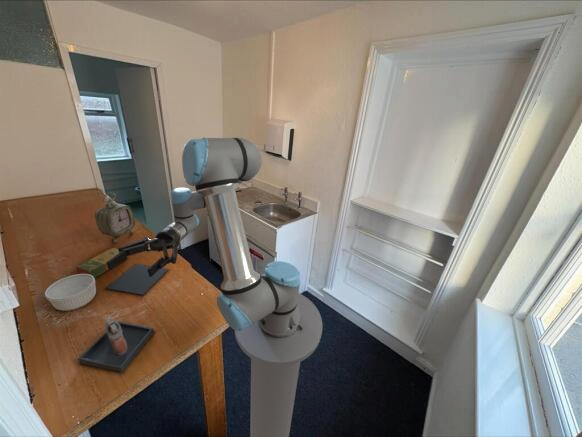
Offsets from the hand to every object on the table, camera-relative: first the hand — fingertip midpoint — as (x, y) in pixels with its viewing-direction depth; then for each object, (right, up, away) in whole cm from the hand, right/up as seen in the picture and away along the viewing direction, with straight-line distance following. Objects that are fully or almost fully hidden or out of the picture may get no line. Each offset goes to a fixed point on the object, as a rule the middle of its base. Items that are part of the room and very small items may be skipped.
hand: (128, 269), depth 70 cm
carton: (-34, -6, +33) cm, 48 cm away
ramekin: (-30, -15, +15) cm, 37 cm away
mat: (-15, -10, +27) cm, 33 cm away
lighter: (-3, -24, +1) cm, 24 cm away
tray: (-3, -24, +1) cm, 24 cm away
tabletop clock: (-44, +5, +55) cm, 70 cm away
